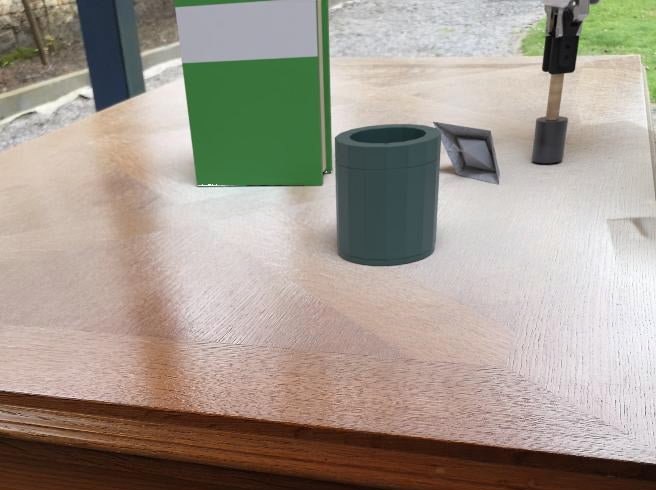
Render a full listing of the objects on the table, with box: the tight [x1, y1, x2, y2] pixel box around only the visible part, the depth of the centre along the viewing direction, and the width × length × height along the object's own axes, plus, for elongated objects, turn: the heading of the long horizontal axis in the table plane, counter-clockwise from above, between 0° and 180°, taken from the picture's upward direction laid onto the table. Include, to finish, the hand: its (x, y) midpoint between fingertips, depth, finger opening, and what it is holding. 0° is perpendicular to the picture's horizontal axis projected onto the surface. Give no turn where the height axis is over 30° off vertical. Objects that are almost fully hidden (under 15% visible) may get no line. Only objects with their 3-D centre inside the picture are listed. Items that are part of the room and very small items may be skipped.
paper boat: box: [432, 121, 501, 185], centre depth 100 cm, size 12×6×9 cm
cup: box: [334, 123, 442, 267], centre depth 78 cm, size 10×10×11 cm
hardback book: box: [173, 0, 333, 187], centre depth 102 cm, size 18×7×24 cm, turn 75°
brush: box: [531, 73, 569, 164], centre depth 101 cm, size 4×4×16 cm
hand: (558, 71), depth 99 cm, fingers closed on brush
